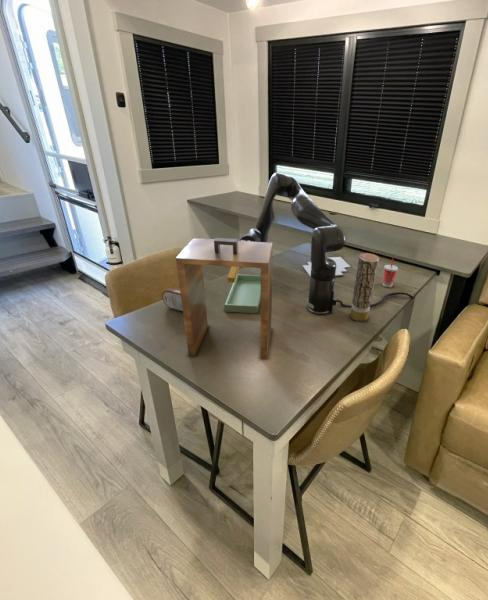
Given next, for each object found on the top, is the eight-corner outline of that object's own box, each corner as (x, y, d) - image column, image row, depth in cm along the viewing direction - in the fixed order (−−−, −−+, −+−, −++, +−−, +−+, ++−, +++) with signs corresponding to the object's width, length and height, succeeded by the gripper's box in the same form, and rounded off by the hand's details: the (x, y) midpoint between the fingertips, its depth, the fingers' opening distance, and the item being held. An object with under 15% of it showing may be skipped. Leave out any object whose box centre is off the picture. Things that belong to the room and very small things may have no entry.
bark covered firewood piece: (367, 323, 123) (379, 261, 111) (349, 320, 124) (358, 258, 112) (368, 314, 129) (379, 254, 117) (350, 311, 130) (359, 252, 118)
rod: (246, 245, 137) (246, 240, 135) (234, 282, 122) (233, 277, 120) (241, 245, 137) (240, 240, 135) (228, 282, 122) (227, 277, 120)
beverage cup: (393, 282, 156) (399, 255, 149) (394, 288, 150) (401, 260, 144) (380, 281, 156) (385, 253, 149) (381, 287, 151) (387, 258, 144)
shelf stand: (271, 329, 116) (272, 231, 99) (267, 358, 102) (268, 250, 85) (202, 326, 115) (191, 226, 97) (188, 355, 101) (173, 244, 84)
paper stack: (296, 259, 173) (296, 258, 173) (340, 256, 181) (340, 255, 180) (310, 278, 154) (310, 277, 154) (358, 274, 161) (359, 273, 161)
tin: (201, 312, 123) (199, 292, 118) (196, 316, 120) (194, 296, 116) (168, 304, 126) (164, 284, 122) (162, 307, 124) (159, 287, 120)
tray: (236, 280, 148) (236, 274, 146) (264, 281, 148) (264, 275, 147) (225, 311, 124) (224, 304, 123) (257, 313, 125) (257, 306, 123)
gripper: (234, 233, 147) (222, 237, 130) (265, 235, 146) (257, 240, 130) (234, 249, 149) (223, 256, 133) (264, 252, 148) (257, 259, 132)
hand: (240, 248), depth 131 cm, fingers closed on rod, 2 cm apart
